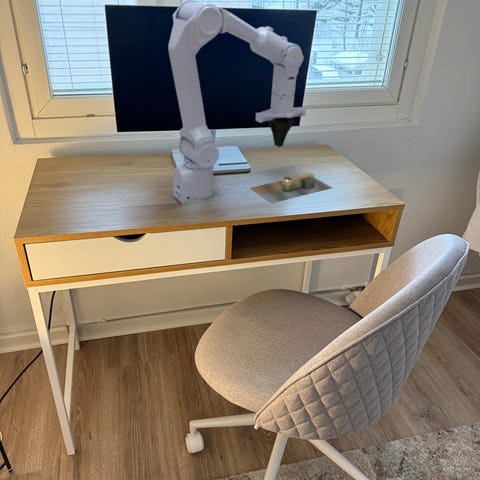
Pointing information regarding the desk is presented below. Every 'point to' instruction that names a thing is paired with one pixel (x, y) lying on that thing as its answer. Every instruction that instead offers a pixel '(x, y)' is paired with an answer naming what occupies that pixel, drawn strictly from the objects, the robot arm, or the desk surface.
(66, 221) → the desk surface
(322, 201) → the desk surface
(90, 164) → the desk surface
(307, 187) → the block
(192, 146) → the robot arm
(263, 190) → the board
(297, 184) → the lock bar
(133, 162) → the desk surface
